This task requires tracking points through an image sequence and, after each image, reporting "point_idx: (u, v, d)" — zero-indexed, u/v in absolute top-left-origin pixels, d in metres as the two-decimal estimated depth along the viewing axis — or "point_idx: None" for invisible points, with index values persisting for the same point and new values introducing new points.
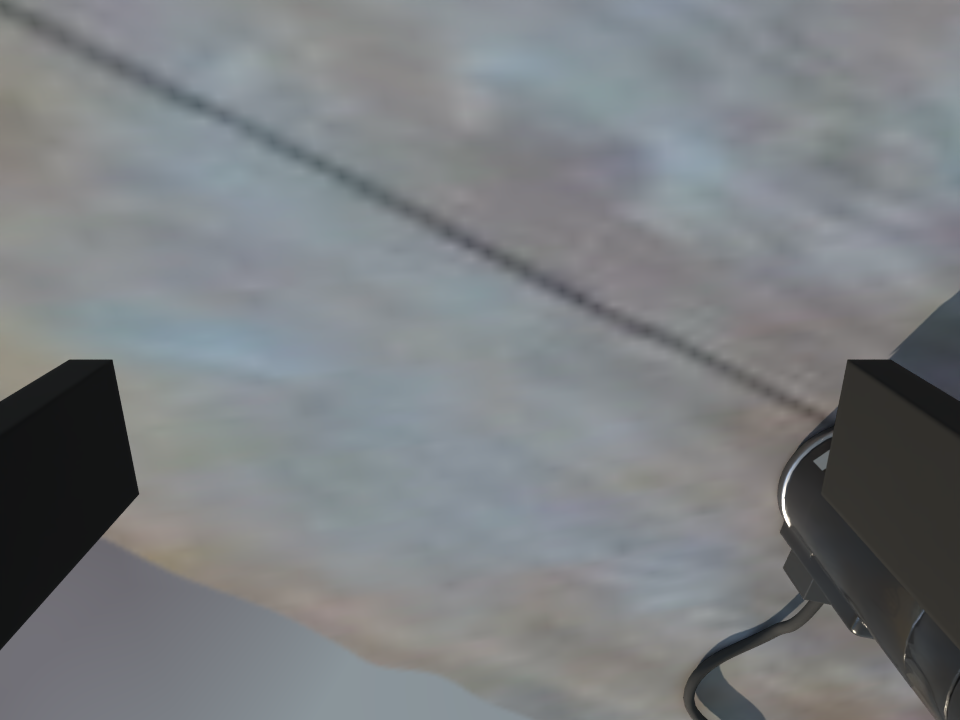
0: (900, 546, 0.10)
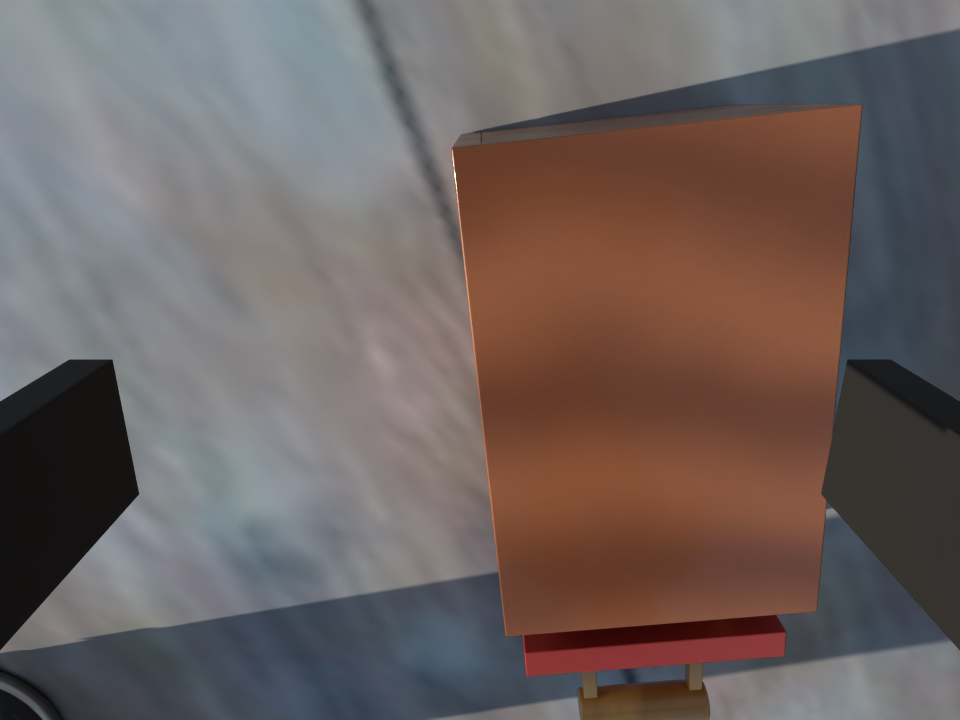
0: (900, 546, 0.10)
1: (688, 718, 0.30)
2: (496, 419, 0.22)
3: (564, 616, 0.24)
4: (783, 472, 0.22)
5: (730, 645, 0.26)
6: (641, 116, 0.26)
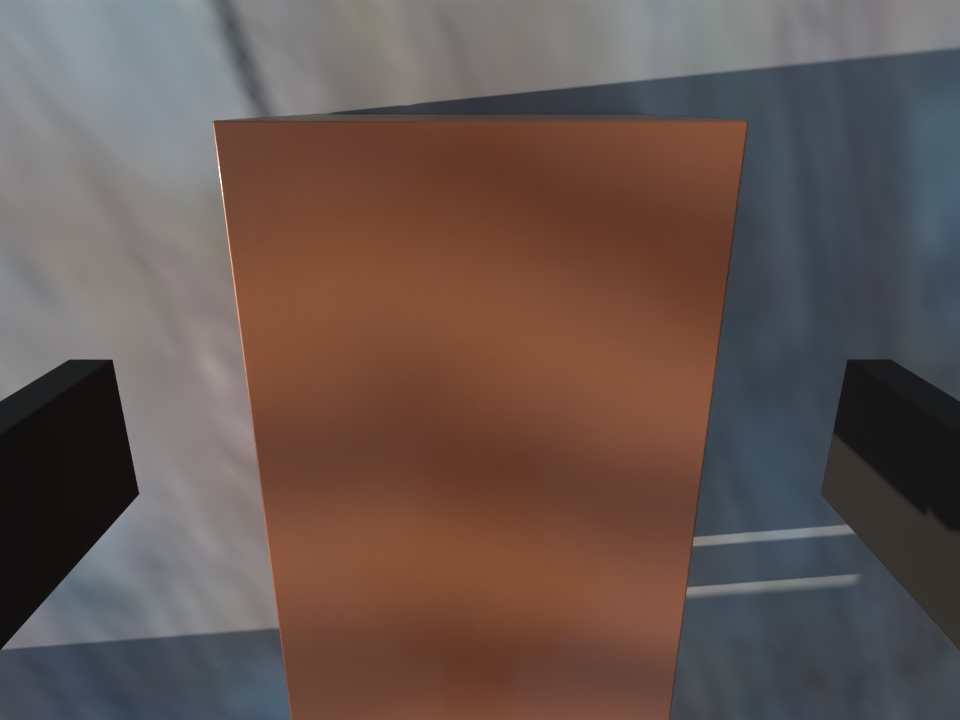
0: (900, 546, 0.10)
1: None
2: (277, 472, 0.17)
3: (363, 712, 0.20)
4: (633, 567, 0.18)
5: None
6: None
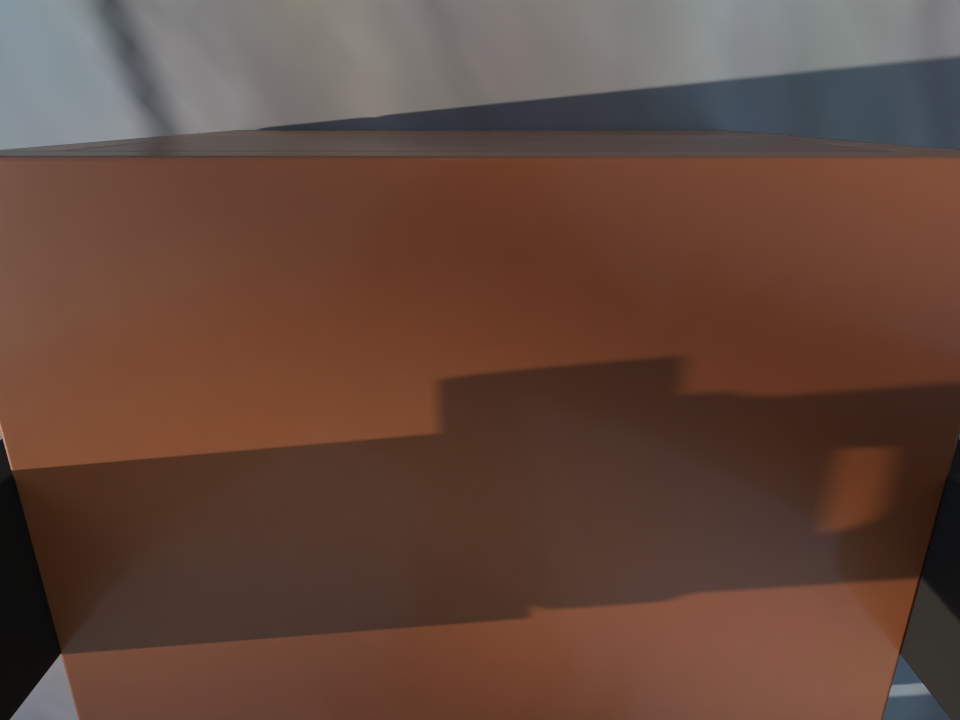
0: None
1: None
2: None
3: None
4: None
5: None
6: (544, 132, 0.14)
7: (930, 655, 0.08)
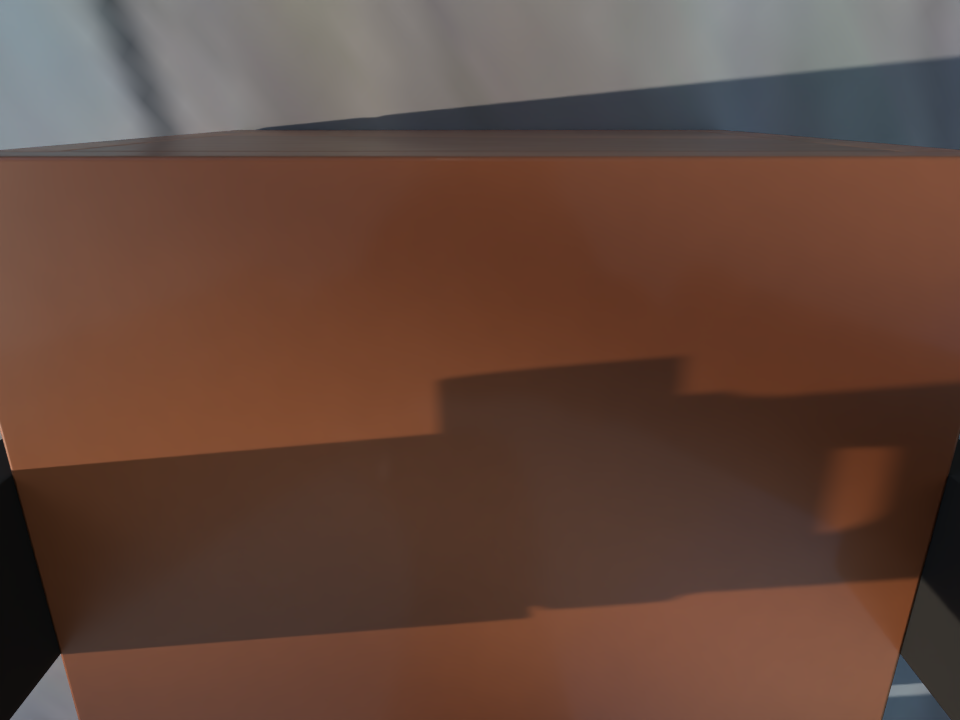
0: None
1: None
2: None
3: None
4: None
5: None
6: (544, 132, 0.14)
7: (930, 655, 0.08)
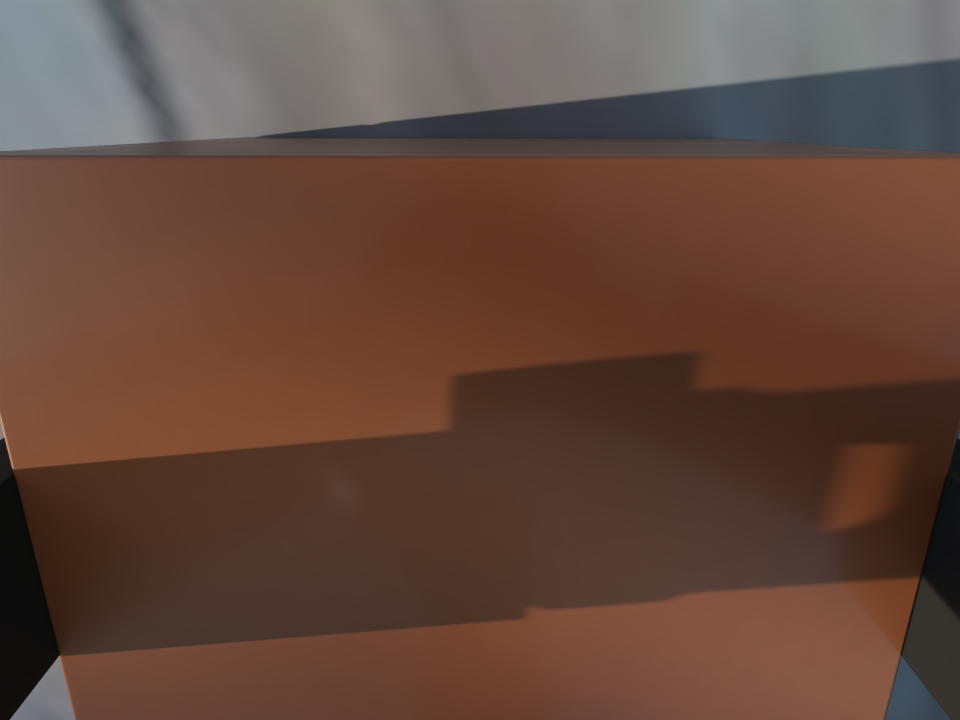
0: None
1: None
2: None
3: None
4: None
5: None
6: None
7: (930, 655, 0.08)
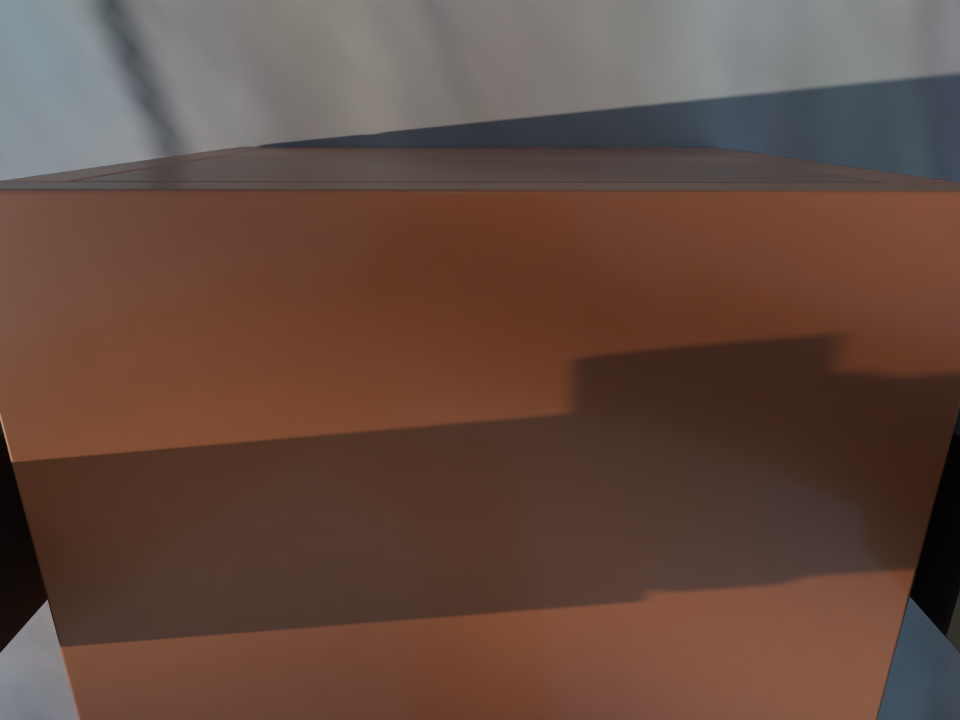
0: None
1: None
2: None
3: None
4: None
5: None
6: (542, 151, 0.14)
7: None
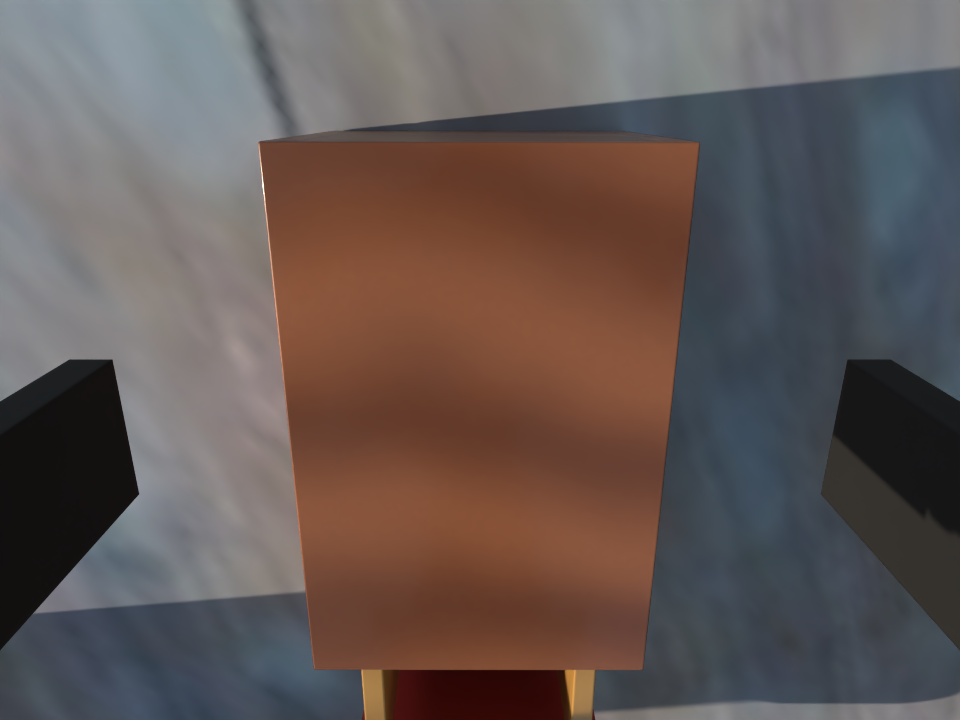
0: (900, 546, 0.10)
1: None
2: (305, 438, 0.20)
3: (376, 653, 0.23)
4: (610, 522, 0.21)
5: None
6: (516, 132, 0.24)
7: None
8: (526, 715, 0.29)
